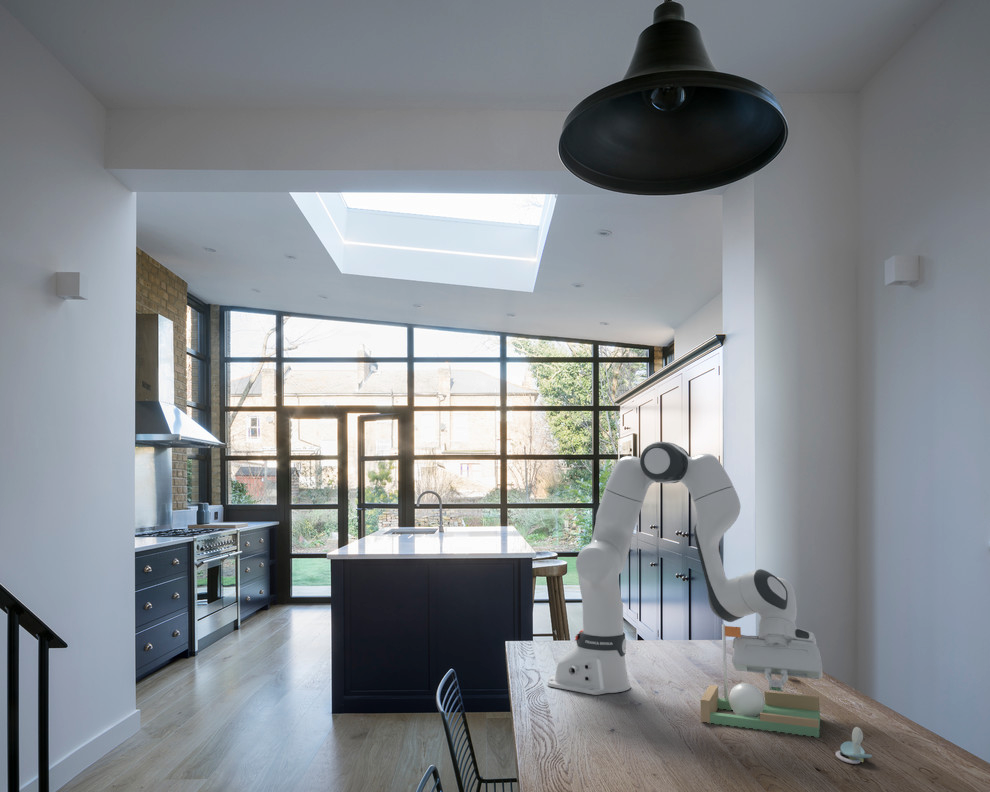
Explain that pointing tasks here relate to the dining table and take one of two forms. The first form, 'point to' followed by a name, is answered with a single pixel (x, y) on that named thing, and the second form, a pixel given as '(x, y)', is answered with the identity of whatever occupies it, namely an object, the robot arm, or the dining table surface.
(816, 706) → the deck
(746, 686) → the ball
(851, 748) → the pacifier
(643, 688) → the dining table surface
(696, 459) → the robot arm
